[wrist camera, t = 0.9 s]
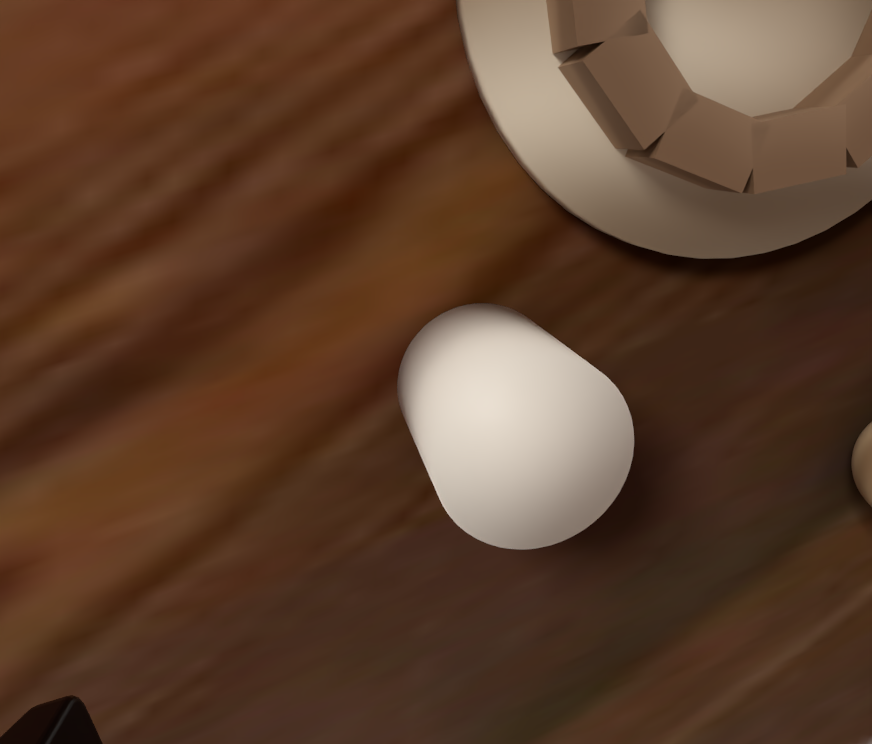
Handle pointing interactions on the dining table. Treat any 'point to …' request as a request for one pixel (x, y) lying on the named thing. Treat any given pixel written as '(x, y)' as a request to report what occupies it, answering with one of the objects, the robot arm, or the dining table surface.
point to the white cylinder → (513, 427)
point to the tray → (711, 69)
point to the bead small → (863, 463)
